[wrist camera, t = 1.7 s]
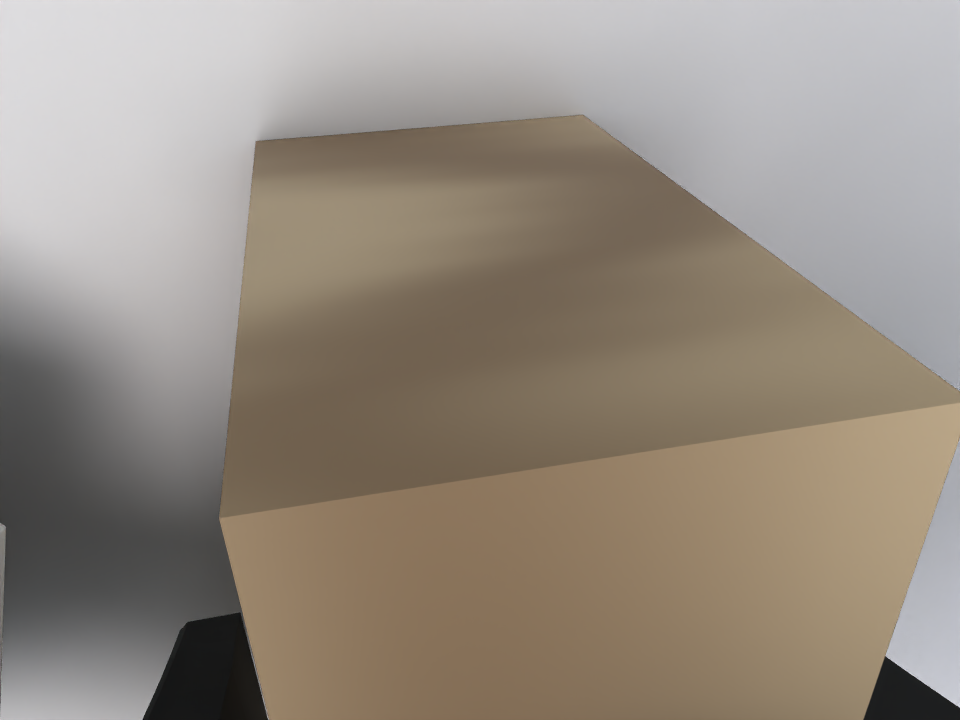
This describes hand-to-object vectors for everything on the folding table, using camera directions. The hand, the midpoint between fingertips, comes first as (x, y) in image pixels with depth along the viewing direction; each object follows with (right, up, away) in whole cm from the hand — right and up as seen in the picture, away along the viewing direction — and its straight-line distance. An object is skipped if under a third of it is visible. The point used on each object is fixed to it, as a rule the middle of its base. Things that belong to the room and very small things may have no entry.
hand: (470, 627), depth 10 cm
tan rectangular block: (0, +1, +1) cm, 2 cm away
